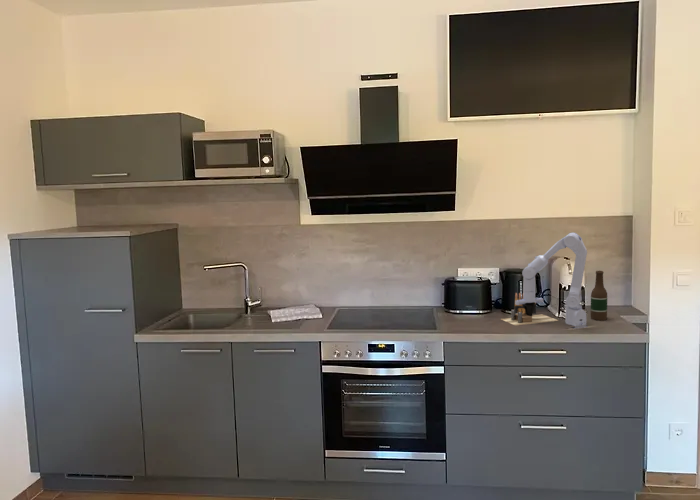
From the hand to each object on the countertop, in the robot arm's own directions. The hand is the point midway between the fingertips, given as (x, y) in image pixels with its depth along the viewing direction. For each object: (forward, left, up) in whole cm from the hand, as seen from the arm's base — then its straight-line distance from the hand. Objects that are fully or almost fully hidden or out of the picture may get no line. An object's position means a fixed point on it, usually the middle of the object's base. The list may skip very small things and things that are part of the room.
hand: (529, 317), depth 289 cm
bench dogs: (0, +7, -2) cm, 7 cm away
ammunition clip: (+13, -6, -2) cm, 15 cm away
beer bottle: (-8, -34, -2) cm, 35 cm away
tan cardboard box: (0, +4, -1) cm, 4 cm away
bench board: (0, 0, -2) cm, 2 cm away
